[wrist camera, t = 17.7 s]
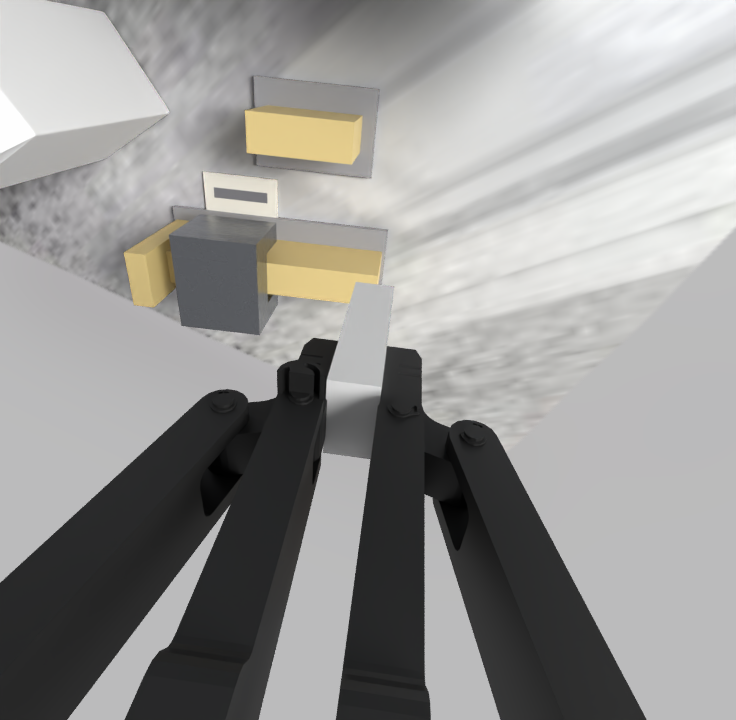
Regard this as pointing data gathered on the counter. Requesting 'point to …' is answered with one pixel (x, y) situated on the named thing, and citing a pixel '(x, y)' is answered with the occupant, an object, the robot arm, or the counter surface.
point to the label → (241, 194)
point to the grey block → (223, 273)
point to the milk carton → (66, 90)
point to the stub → (312, 126)
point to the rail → (273, 258)
